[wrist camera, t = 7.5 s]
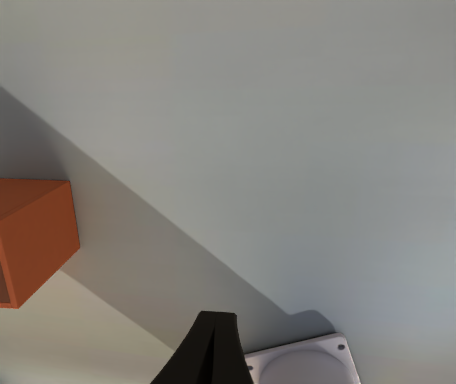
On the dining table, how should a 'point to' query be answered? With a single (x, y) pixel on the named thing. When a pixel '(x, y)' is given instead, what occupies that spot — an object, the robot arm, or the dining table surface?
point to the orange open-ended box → (33, 235)
